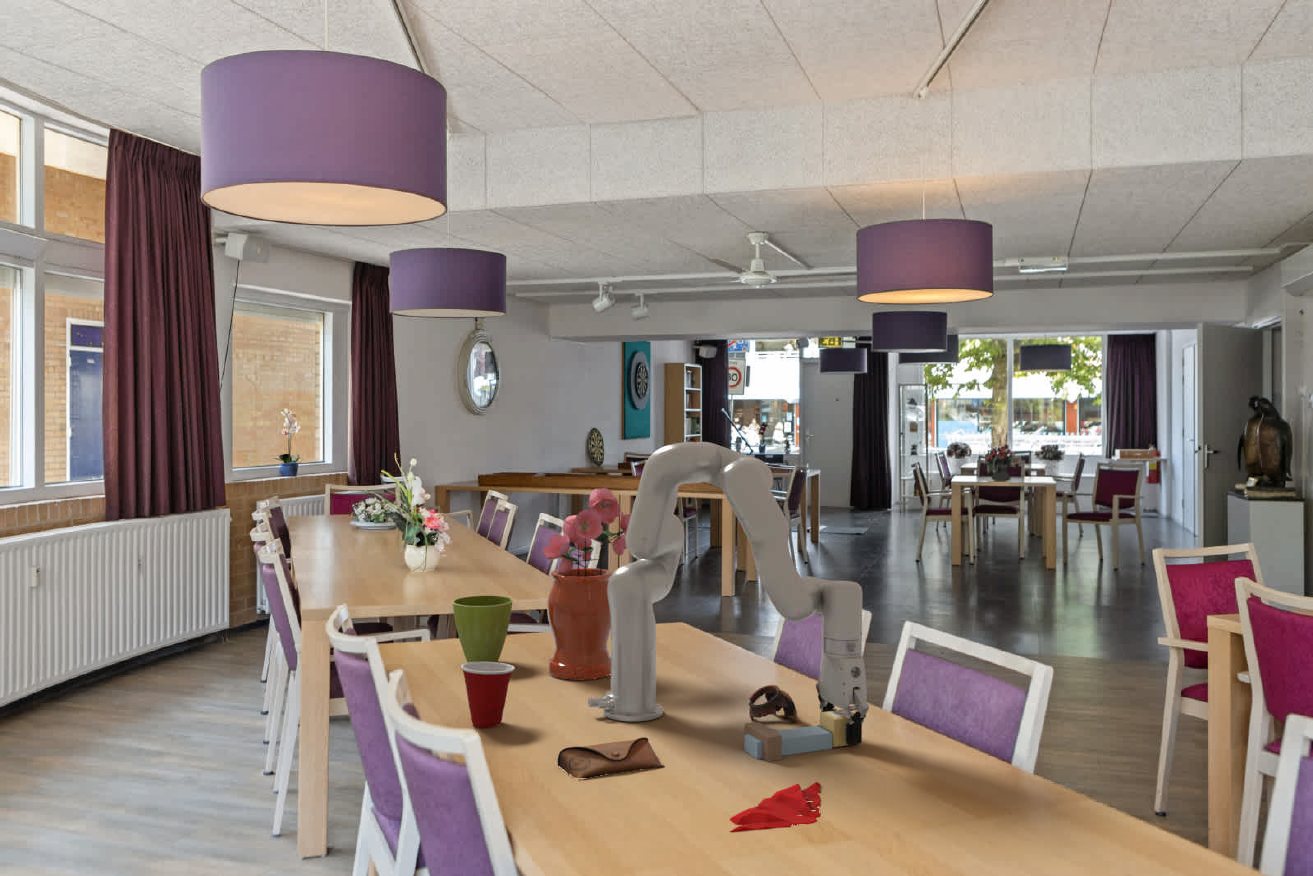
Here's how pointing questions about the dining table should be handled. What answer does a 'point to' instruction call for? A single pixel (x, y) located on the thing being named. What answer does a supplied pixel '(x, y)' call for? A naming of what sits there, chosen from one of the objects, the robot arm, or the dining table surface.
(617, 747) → the sunglasses case
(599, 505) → the potted flower
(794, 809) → the cloth
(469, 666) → the plastic cup
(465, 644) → the flower pot
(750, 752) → the banded blue brick
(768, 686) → the brown looped band
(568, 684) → the dining table surface
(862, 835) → the dining table surface
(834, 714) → the stub
